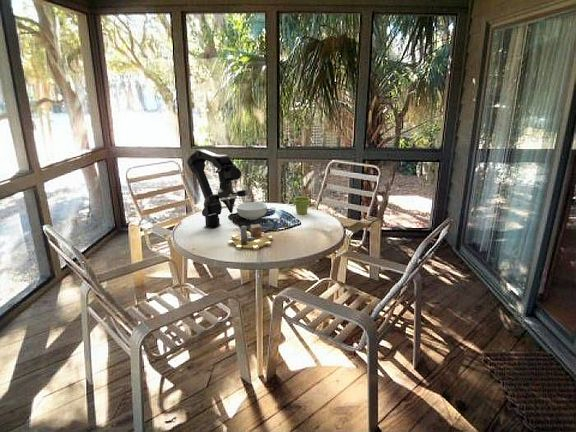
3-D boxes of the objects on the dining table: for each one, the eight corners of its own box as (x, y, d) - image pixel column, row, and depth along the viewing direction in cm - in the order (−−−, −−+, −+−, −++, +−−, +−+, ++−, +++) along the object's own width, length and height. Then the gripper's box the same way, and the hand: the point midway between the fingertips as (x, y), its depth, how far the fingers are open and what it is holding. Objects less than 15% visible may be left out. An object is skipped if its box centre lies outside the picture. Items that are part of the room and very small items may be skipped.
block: (252, 236, 188) (252, 227, 186) (250, 233, 192) (250, 224, 190) (261, 235, 189) (261, 226, 188) (259, 232, 193) (259, 224, 192)
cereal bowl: (265, 212, 230) (265, 201, 228) (268, 221, 214) (268, 209, 212) (236, 214, 228) (236, 202, 226) (237, 223, 212) (236, 210, 210)
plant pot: (310, 215, 224) (310, 201, 222) (293, 215, 224) (293, 201, 222) (309, 210, 233) (309, 196, 230) (293, 210, 233) (293, 196, 231)
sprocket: (232, 252, 173) (231, 231, 170) (225, 236, 192) (224, 217, 189) (278, 246, 179) (278, 226, 176) (267, 231, 198) (266, 213, 195)
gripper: (201, 185, 183) (207, 218, 185) (239, 179, 180) (245, 212, 182) (209, 183, 193) (215, 214, 196) (245, 177, 191) (251, 209, 193)
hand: (231, 212), depth 191 cm, fingers closed
